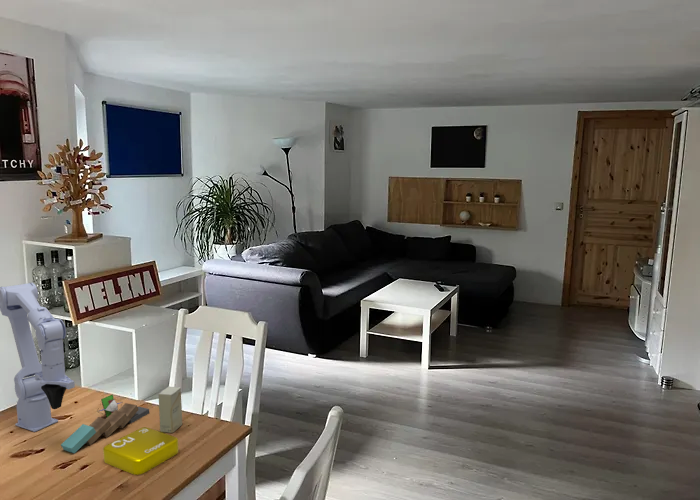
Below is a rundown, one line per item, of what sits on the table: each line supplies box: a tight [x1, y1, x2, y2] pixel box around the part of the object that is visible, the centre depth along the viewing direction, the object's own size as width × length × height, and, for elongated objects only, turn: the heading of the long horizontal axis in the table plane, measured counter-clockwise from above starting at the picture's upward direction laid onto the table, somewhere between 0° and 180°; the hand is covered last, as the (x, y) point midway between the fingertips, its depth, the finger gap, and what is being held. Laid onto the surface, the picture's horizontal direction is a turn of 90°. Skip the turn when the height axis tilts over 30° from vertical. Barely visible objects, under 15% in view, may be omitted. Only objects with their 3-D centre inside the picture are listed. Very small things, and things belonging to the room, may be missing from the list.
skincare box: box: [157, 385, 183, 434], centre depth 171 cm, size 6×4×12 cm
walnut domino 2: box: [101, 410, 128, 438], centre depth 169 cm, size 4×2×8 cm
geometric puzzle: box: [97, 393, 123, 418], centre depth 179 cm, size 7×7×8 cm
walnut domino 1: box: [84, 416, 111, 446], centre depth 165 cm, size 4×2×8 cm
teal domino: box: [60, 423, 96, 454], centre depth 160 cm, size 4×2×8 cm
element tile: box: [102, 427, 179, 476], centre depth 156 cm, size 15×15×5 cm
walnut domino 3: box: [117, 402, 139, 429], centre depth 175 cm, size 4×2×8 cm
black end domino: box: [127, 405, 150, 424], centre depth 179 cm, size 4×2×8 cm
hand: (56, 407), depth 162 cm, fingers closed
